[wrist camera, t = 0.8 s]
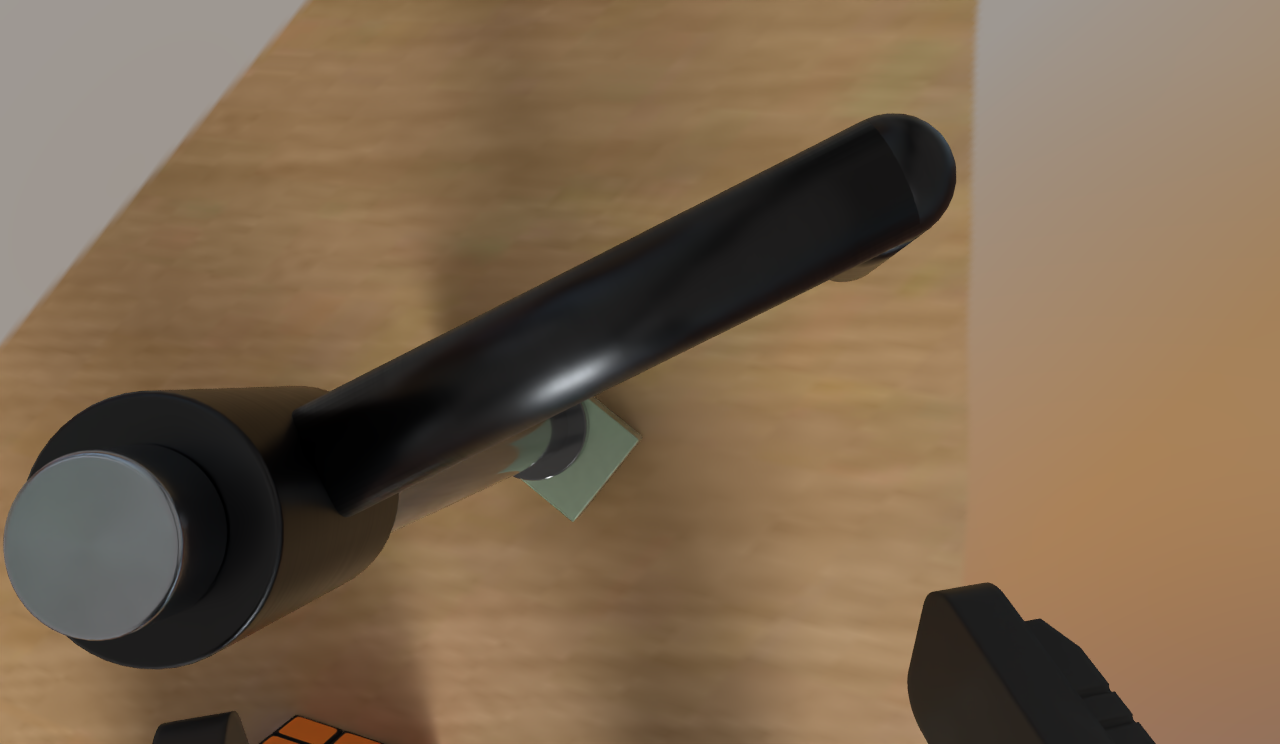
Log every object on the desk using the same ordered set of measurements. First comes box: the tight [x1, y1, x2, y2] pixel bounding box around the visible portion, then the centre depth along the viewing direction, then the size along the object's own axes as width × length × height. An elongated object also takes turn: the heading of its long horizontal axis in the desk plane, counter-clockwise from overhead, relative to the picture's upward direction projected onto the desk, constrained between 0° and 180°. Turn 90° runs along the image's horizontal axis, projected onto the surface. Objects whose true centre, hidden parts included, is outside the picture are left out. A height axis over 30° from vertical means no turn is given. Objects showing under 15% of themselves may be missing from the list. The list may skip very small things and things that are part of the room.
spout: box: [4, 114, 956, 669], centre depth 15 cm, size 12×3×9 cm, turn 117°
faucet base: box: [391, 396, 643, 533], centre depth 25 cm, size 4×6×20 cm, turn 52°
